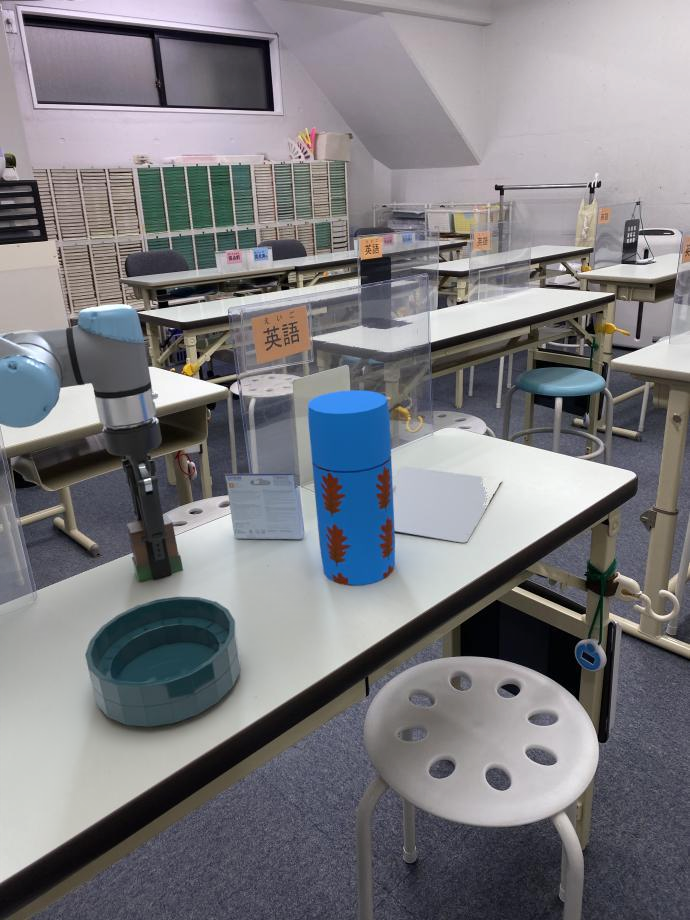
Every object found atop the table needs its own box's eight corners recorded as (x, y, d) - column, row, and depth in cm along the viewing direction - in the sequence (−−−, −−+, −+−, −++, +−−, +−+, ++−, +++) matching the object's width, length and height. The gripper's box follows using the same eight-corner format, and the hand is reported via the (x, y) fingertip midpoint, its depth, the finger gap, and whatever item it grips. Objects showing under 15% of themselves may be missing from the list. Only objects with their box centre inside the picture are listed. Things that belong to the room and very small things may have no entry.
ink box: (305, 533, 110) (299, 467, 106) (302, 540, 108) (295, 473, 104) (237, 532, 112) (228, 467, 108) (232, 539, 110) (223, 473, 106)
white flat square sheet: (383, 466, 134) (383, 461, 134) (503, 482, 125) (503, 476, 124) (327, 522, 113) (326, 516, 113) (465, 546, 104) (466, 540, 103)
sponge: (134, 571, 103) (124, 524, 100) (177, 559, 105) (169, 512, 102) (138, 582, 100) (128, 533, 97) (183, 570, 102) (174, 522, 99)
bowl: (89, 664, 82) (78, 622, 80) (218, 622, 89) (212, 583, 86) (108, 754, 69) (96, 706, 67) (260, 697, 75) (254, 652, 73)
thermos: (370, 593, 93) (360, 418, 83) (307, 574, 98) (290, 408, 89) (409, 557, 101) (402, 394, 92) (348, 541, 107) (336, 386, 97)
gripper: (170, 431, 88) (197, 587, 97) (145, 401, 102) (171, 540, 111) (110, 443, 85) (144, 603, 94) (93, 411, 99) (124, 552, 108)
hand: (159, 569), depth 102 cm, fingers closed on sponge, 4 cm apart
